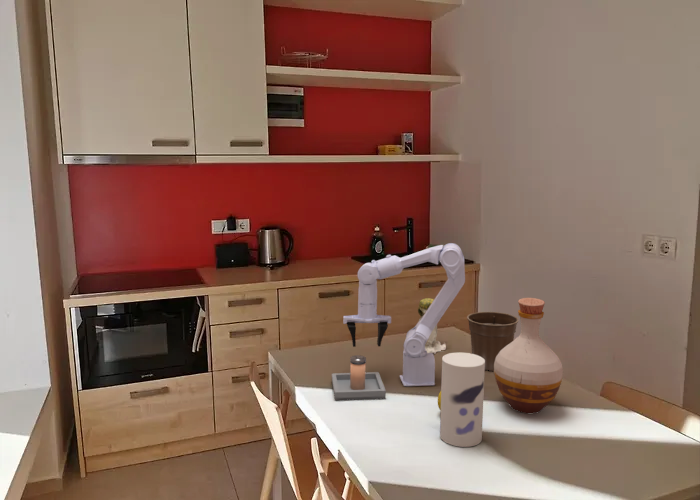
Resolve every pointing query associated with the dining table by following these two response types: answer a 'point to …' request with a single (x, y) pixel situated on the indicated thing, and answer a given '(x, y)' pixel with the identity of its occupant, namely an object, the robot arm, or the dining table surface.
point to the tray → (371, 391)
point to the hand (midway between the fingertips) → (366, 345)
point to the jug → (528, 364)
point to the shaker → (357, 372)
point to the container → (462, 399)
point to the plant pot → (491, 334)
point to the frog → (431, 342)
